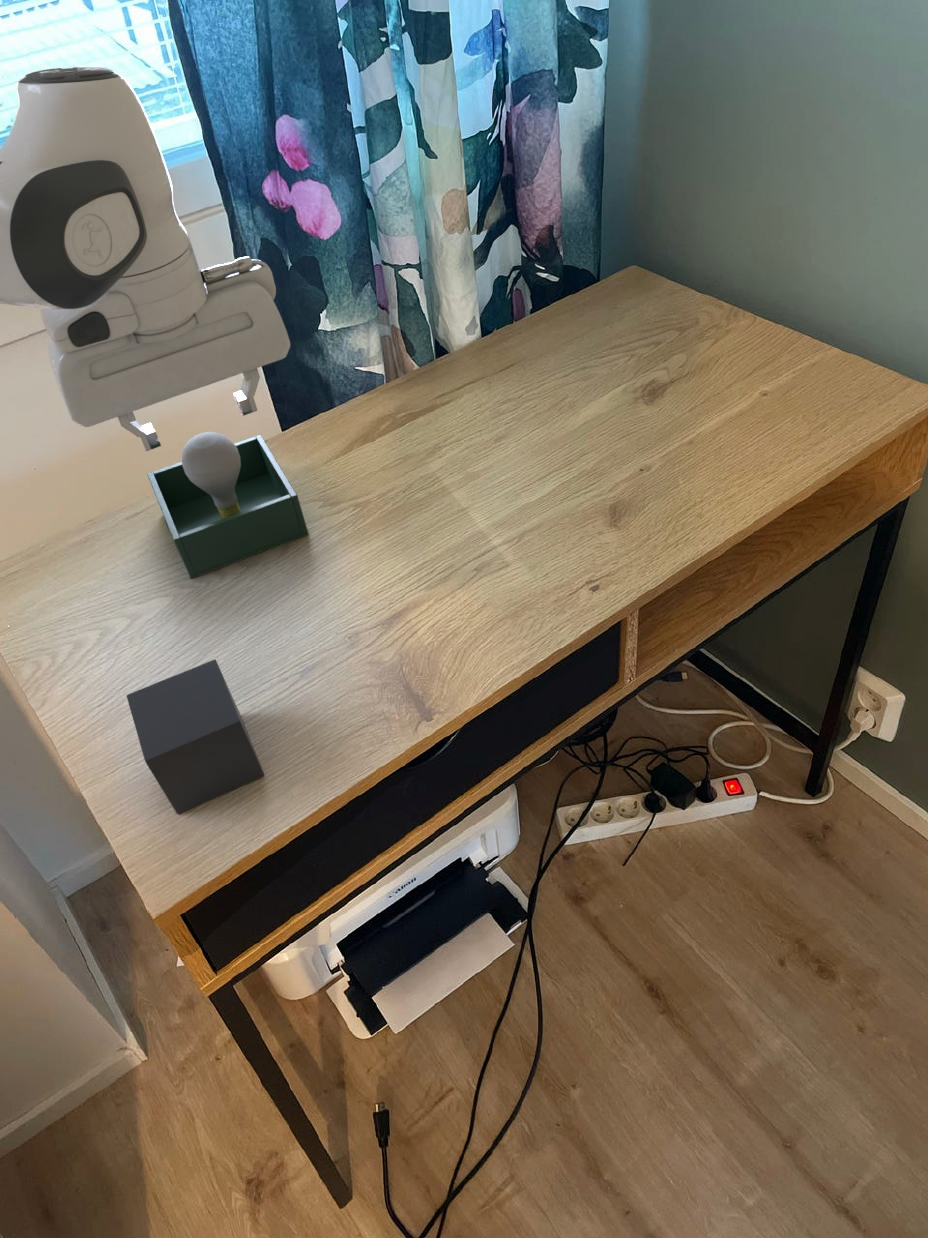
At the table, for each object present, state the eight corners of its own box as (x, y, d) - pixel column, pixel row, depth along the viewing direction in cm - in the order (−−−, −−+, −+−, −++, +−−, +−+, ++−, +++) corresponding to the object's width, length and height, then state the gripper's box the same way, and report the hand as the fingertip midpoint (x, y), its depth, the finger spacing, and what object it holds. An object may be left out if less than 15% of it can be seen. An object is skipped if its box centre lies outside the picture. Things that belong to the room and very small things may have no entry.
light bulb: (265, 501, 93) (238, 419, 86) (250, 536, 89) (221, 453, 82) (215, 502, 94) (184, 421, 87) (199, 536, 90) (165, 454, 83)
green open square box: (190, 579, 87) (173, 540, 83) (163, 511, 95) (146, 473, 91) (308, 534, 90) (297, 494, 86) (272, 472, 98) (260, 434, 94)
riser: (177, 815, 68) (144, 761, 63) (157, 749, 72) (125, 694, 67) (265, 776, 70) (240, 721, 65) (240, 714, 74) (215, 658, 69)
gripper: (254, 238, 79) (292, 376, 89) (20, 310, 73) (88, 449, 83) (278, 262, 75) (315, 405, 85) (32, 341, 69) (102, 484, 79)
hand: (200, 428), depth 84 cm, fingers open, 8 cm apart
